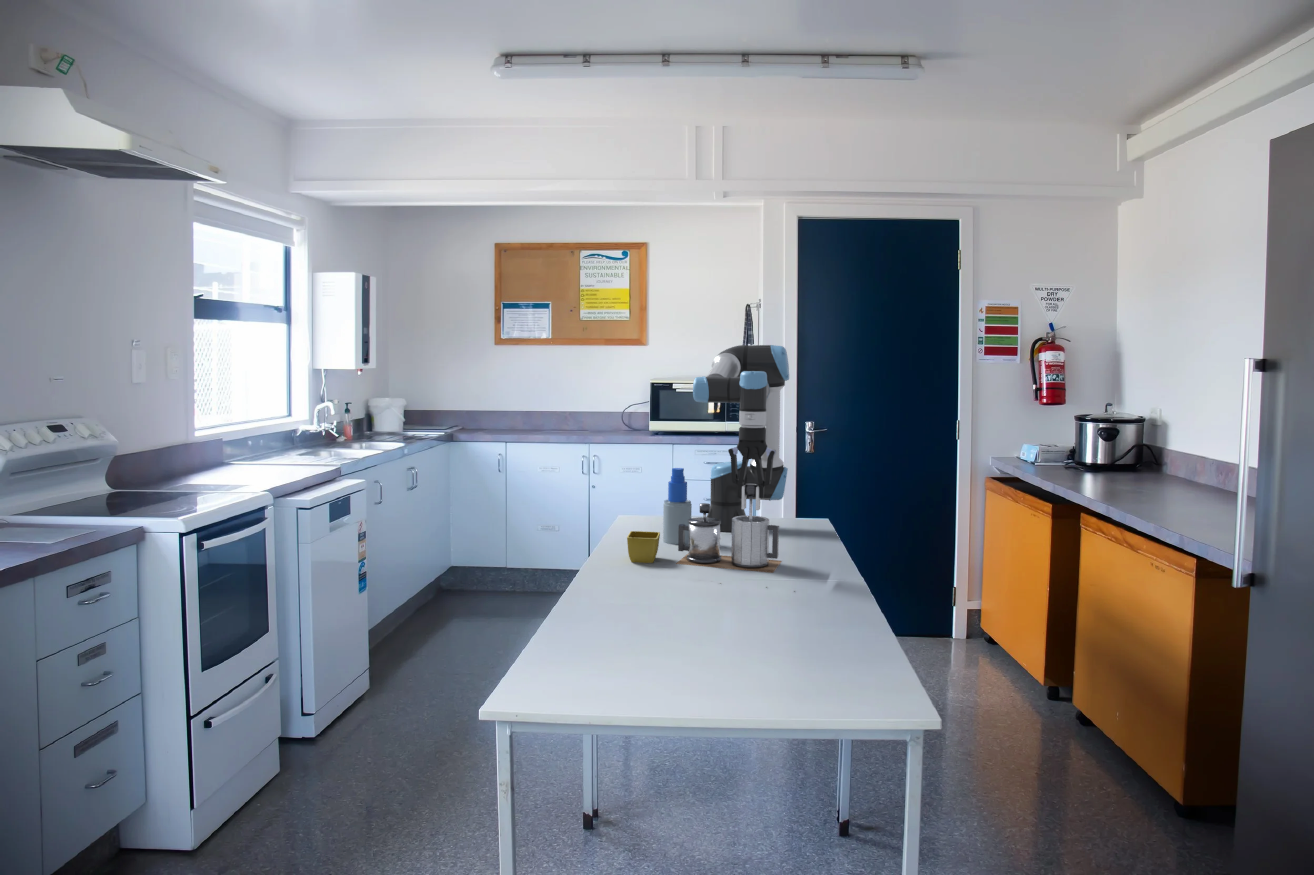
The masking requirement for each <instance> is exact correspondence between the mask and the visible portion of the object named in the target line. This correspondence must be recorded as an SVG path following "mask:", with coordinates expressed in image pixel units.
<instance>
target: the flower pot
mask: <svg viewBox="0 0 1314 875" xmlns="http://www.w3.org/2000/svg"><path fill="white" fill-rule="evenodd" d="M660 536H661V532H660V531H659V532H658V531H642V530H641V531H639V530H631V531H630V532H629V533H628V534H627V536H626V542H627V543H626V544H627V553H628V557H629V560H630V562H631V563H640V564H641V563H643V564H645V563H647V564H654V561H655V559H656V557H657V555H658V551H659V547H660V546H659V544H660Z"/></svg>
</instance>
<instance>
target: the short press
mask: <svg viewBox="0 0 1314 875" xmlns="http://www.w3.org/2000/svg"><path fill="white" fill-rule="evenodd" d="M699 513H700V514H702V516H701V517H691V519H689V520H688V523H689V526H686V525H685V524H680V525H679V529H678V545H677V546H678V548H677V550H678V552H684V551H686V552H688V553H689V555H687V554H686V555H687V561H689V562H691V563H695V564H715V563H719V562H721V556H720V555H721V554H720V553H721V531H720V524H721V520H719V519H716V518H708V517H707V514H708V513H710V503H706V502H704V503H699ZM685 530H687V531H689V543H688V545H686V544H685Z"/></svg>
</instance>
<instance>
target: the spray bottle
mask: <svg viewBox="0 0 1314 875" xmlns="http://www.w3.org/2000/svg"><path fill="white" fill-rule="evenodd" d="M685 480H686V478H685V473H684V467H673V468H671V476H670V481H668V484H667V485H668V487H667V491H668V492H667V499H665V500H663V507H662V508H663V516H662V517H663V519H662V520H663V523H662V524H663V525H662V527H663V528H662V529H663V530H662V532H663V533H662V534H663V535H662V536H663V537H662V538H663V539H662V541H663V543H664V544H668V545H677V546H678V529H679V525H680V524H685V525H686V526H689V523H688V520H689V519H691V518H692V501H691V500H689V499H688V481H685ZM685 545H689V531H687V530H685Z"/></svg>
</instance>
